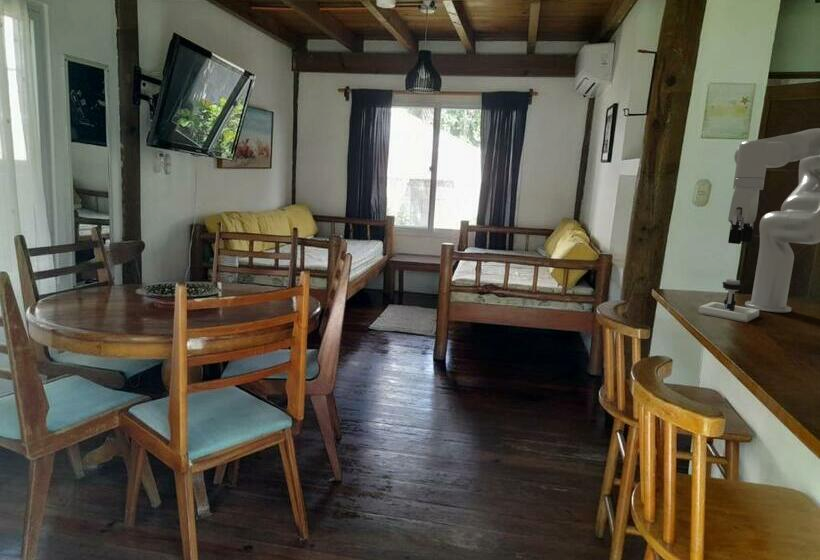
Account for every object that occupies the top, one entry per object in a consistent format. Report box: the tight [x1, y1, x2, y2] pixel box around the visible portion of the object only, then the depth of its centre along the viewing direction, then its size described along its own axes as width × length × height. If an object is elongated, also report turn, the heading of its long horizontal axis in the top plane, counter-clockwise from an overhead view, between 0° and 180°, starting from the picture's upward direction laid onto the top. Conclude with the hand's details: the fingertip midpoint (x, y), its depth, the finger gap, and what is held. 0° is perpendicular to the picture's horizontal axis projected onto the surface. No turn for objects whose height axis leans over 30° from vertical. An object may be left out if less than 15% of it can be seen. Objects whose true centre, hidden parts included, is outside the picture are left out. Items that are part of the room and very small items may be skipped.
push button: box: [722, 278, 744, 311], centre depth 159 cm, size 7×5×10 cm
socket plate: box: [697, 301, 760, 323], centre depth 161 cm, size 12×13×2 cm
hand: (739, 242), depth 157 cm, fingers open, 9 cm apart
